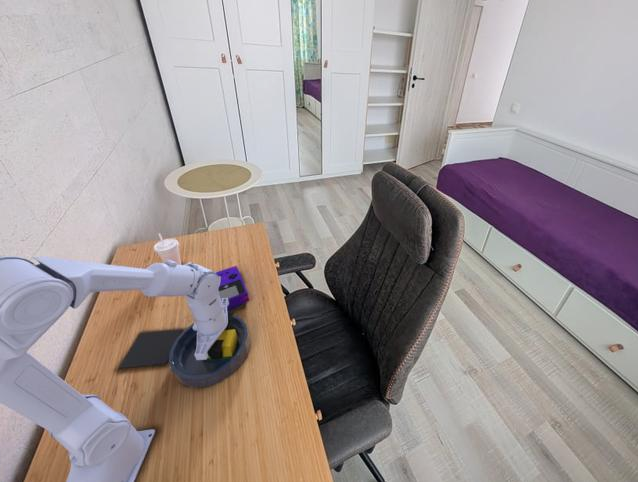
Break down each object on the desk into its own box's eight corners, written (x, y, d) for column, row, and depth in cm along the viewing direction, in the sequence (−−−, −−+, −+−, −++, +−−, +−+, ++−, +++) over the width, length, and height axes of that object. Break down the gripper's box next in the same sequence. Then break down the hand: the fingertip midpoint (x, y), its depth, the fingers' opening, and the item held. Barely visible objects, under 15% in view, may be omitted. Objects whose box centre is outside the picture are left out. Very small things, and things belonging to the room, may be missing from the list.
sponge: (233, 358, 68) (229, 346, 65) (202, 360, 67) (197, 348, 64) (238, 341, 72) (235, 329, 69) (209, 343, 71) (204, 331, 68)
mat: (166, 364, 66) (166, 363, 66) (119, 369, 65) (118, 368, 65) (183, 330, 74) (182, 329, 74) (140, 334, 73) (139, 332, 72)
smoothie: (164, 263, 94) (150, 229, 87) (187, 258, 97) (175, 225, 90) (161, 276, 89) (146, 241, 82) (185, 271, 92) (172, 237, 85)
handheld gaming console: (236, 264, 91) (247, 291, 80) (239, 277, 93) (250, 305, 82) (204, 275, 86) (210, 305, 75) (208, 288, 88) (215, 319, 77)
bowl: (241, 384, 64) (237, 373, 61) (161, 394, 61) (154, 383, 59) (256, 321, 78) (253, 310, 75) (191, 327, 75) (186, 316, 73)
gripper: (202, 286, 67) (214, 322, 74) (171, 343, 55) (190, 380, 62) (233, 285, 68) (242, 321, 75) (210, 340, 56) (224, 377, 63)
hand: (221, 347), depth 69 cm, fingers closed on sponge, 4 cm apart
